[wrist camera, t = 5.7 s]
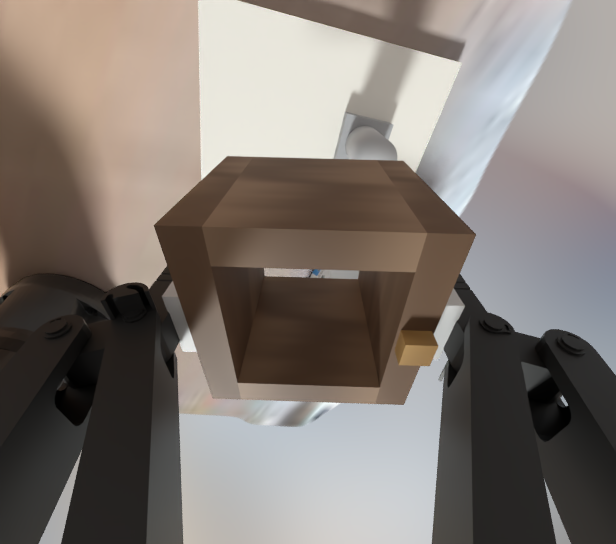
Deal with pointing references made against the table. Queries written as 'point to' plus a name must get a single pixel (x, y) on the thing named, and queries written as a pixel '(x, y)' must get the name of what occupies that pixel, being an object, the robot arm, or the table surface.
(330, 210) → the wooden cubby shelf
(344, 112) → the hub board
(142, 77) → the table surface
